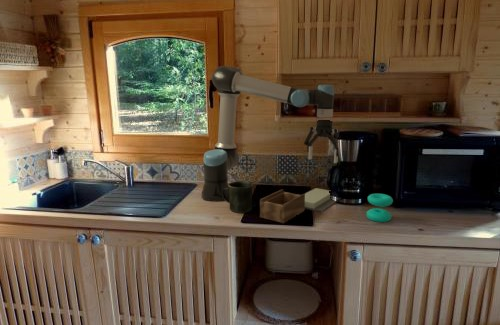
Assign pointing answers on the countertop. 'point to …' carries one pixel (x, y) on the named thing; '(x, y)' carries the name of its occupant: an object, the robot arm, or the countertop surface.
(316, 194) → the lid
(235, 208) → the mug
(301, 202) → the box
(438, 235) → the countertop surface
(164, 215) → the countertop surface
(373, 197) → the donuts
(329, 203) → the mat
